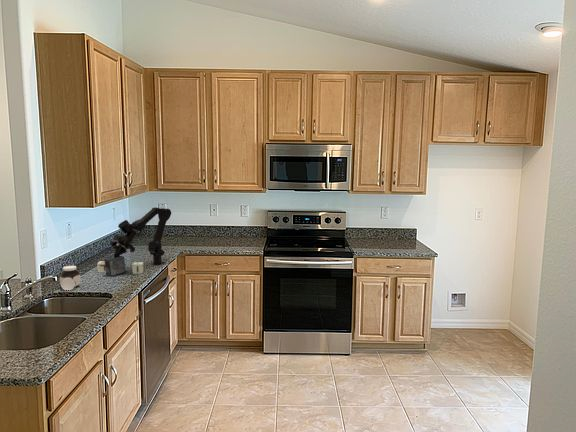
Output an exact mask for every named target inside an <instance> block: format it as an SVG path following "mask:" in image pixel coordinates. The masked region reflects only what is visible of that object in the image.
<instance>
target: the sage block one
mask: <svg viewBox="0 0 576 432" xmlns="http://www.w3.org/2000/svg"><path fill="white" fill-rule="evenodd" d="M131 265H132V275H133V274H134V275H135V274H136V275H137V274H143V273H144V261H140V262H139V261H137V262H135V261H134V262H132V264H131Z"/></svg>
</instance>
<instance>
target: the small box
mask: <svg viewBox="0 0 576 432" xmlns="http://www.w3.org/2000/svg"><path fill="white" fill-rule="evenodd" d="M103 261H105V269H106V272H105V275H106V276H108V277H115V276H118V275H122V274H125V273H127V269H126V261H125V256H122V255H119V256H118V257H116V258H115V257H114V256H113V257H108V258H105V259H103Z"/></svg>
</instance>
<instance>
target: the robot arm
mask: <svg viewBox="0 0 576 432" xmlns="http://www.w3.org/2000/svg"><path fill="white" fill-rule="evenodd" d="M171 215H172V211H171V209H170V208H163V207H162V208H159V207H152V208H151V210H149V211H148V212H147V213H146V214H145V215H143V216H142V217H141V218H139V219H137V220H135V221H133V222H131V223H130V222H129V221H128V219H127V220H126V219H124V221H121V222H120V223H119V224H118V227H117V228H119V230H120V231H121V232H122V233H124V234H121V235H120V234H114V236H113V240H111V241H110V242H109V245H110V246H111V248H113V249H114V254H113V257H115V258H116V257H118V256H122V255H123V254H126V253H128V250H129V251H130V253H134V252H135V251H136V248H135V247H134V246H133V243H134V242H133V241H134V239H135V238H136V237H137V238H139V237H140V233H139V232H142V231H143V230H144V229H146V226H147V224H148V223H149V222H150V221H151V220H153V219H154V217H156V216H157V217H158V223H157V226H156V231H155V233H154V236H153V237H154V238H153V239H152V241H149V244H148V246H147V248H148V252H149V254H150V256H151V255H152V263H151V264H152V265H163V260H162V259H163V258H162V256H164V255H165V251H164V250H163V249H162V239H163V238H162V237H163V235H164V231H165V227H166V224H167V221H168V220H170V218H171V217H172V216H171Z"/></svg>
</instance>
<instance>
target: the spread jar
mask: <svg viewBox="0 0 576 432" xmlns="http://www.w3.org/2000/svg"><path fill="white" fill-rule="evenodd" d="M81 281H82V280H81V273H80V271H79V270H78V269H77V266H76V265H66V266H63V267H62V271H61V273H60V275H59V283H60V284H59V285H60V286H61V289H63V290H64V291H66V290H67V292H68V290H69V291H73V289H76V288H78V287H79V286H80V285H81ZM75 287H76V288H75Z"/></svg>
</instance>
